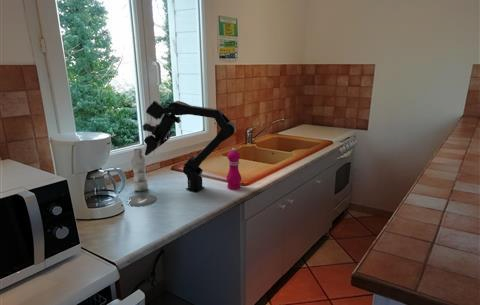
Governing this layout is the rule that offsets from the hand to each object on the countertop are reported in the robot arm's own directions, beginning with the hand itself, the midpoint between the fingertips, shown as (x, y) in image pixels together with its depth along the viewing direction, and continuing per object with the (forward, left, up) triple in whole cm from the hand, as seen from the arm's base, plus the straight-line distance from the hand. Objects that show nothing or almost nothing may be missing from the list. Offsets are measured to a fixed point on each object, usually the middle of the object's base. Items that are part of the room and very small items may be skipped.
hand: (149, 152), depth 149 cm
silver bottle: (+1, +6, -18) cm, 19 cm away
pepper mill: (-33, -22, -18) cm, 43 cm away
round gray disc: (-8, +13, -18) cm, 23 cm away
